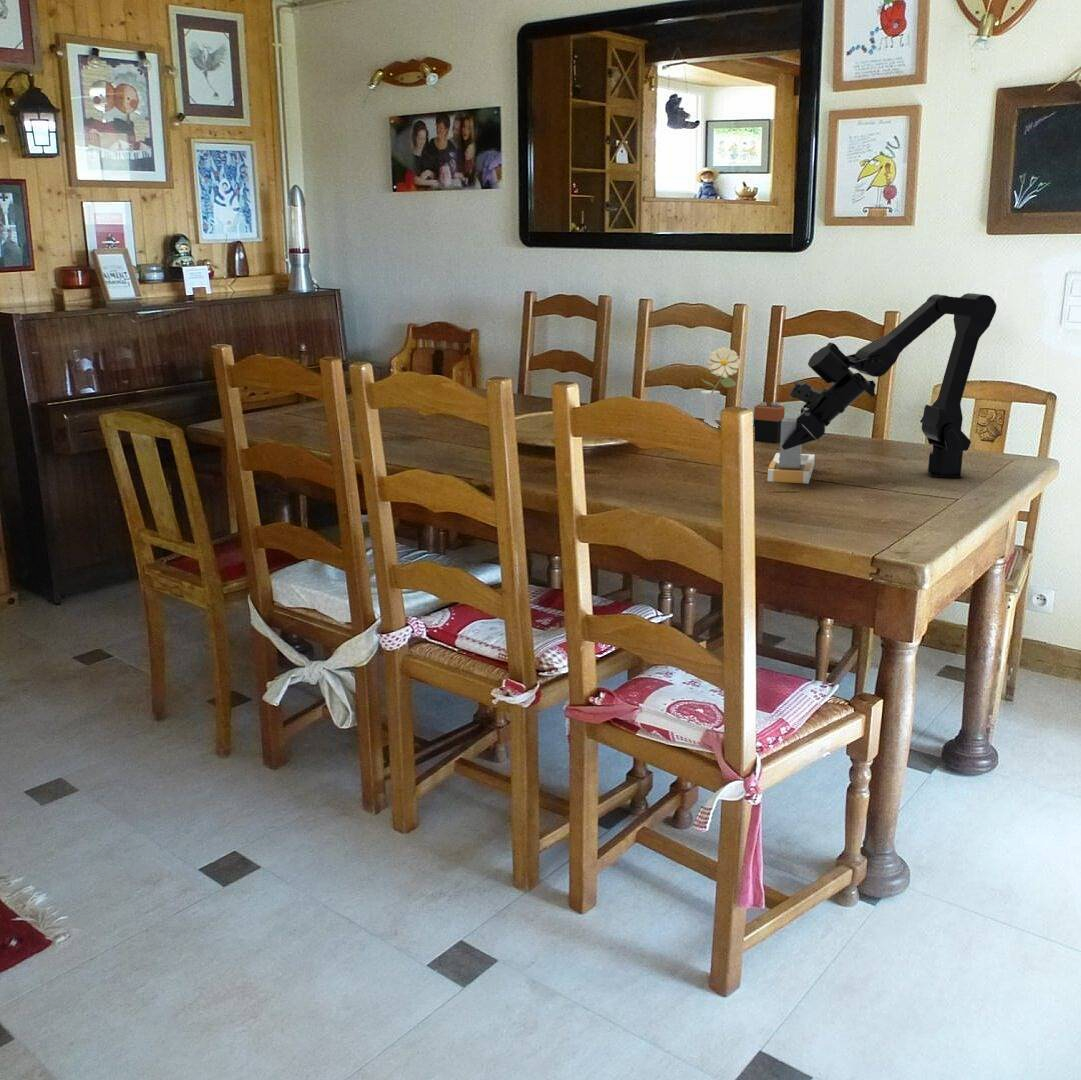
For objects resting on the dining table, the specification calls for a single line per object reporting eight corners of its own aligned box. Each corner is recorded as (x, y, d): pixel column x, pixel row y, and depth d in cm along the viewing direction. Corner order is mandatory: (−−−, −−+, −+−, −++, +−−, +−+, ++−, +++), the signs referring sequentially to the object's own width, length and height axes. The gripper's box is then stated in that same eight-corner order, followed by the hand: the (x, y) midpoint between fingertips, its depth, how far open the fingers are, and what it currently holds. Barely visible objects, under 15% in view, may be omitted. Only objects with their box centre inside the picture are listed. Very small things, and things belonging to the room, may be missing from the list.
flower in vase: (681, 448, 270) (683, 348, 263) (692, 440, 280) (694, 343, 273) (732, 452, 265) (736, 350, 258) (742, 443, 275) (745, 345, 268)
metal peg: (800, 476, 239) (803, 418, 236) (798, 480, 235) (802, 422, 232) (780, 475, 241) (782, 417, 237) (778, 479, 237) (781, 421, 233)
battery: (776, 443, 274) (778, 404, 272) (752, 440, 278) (753, 402, 275) (783, 440, 278) (785, 402, 275) (759, 437, 282) (761, 400, 279)
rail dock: (814, 465, 250) (814, 452, 249) (808, 483, 233) (809, 470, 232) (775, 463, 252) (776, 451, 252) (767, 481, 235) (767, 468, 234)
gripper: (816, 362, 238) (764, 410, 245) (811, 374, 221) (754, 425, 228) (851, 399, 238) (797, 445, 245) (848, 413, 221) (790, 463, 228)
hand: (784, 444), depth 236 cm, fingers open, 9 cm apart
